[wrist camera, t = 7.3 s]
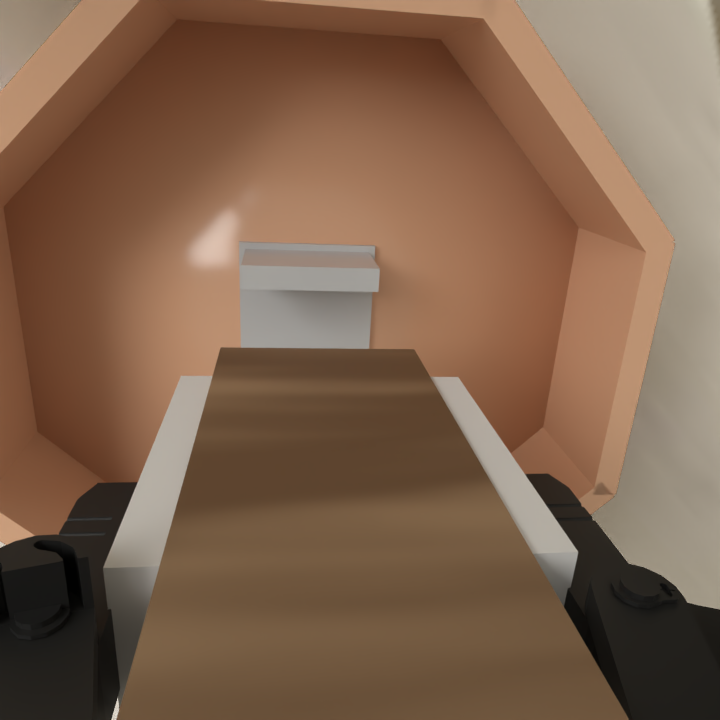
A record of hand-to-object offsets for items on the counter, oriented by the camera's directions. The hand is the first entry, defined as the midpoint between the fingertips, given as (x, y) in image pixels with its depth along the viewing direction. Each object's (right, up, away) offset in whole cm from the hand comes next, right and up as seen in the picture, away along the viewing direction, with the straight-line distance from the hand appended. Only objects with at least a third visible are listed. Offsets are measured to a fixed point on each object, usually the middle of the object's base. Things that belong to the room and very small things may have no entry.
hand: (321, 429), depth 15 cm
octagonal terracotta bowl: (-1, +3, +7) cm, 8 cm away
